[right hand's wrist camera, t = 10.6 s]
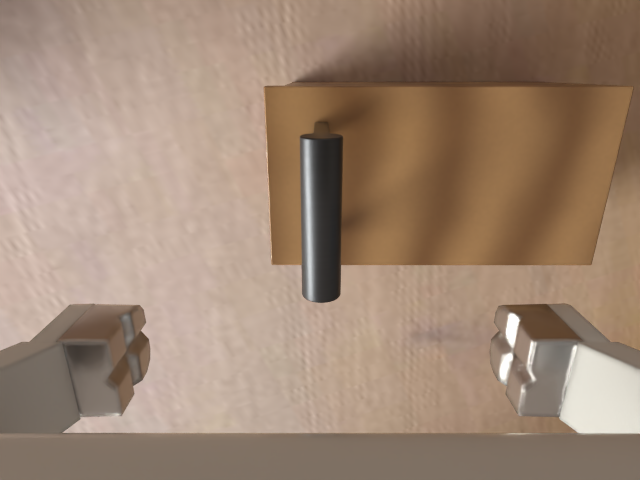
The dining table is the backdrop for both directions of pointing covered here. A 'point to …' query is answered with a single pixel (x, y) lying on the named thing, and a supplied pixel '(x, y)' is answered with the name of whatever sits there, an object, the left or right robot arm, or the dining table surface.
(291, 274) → the dining table surface
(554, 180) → the lid
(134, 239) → the dining table surface
